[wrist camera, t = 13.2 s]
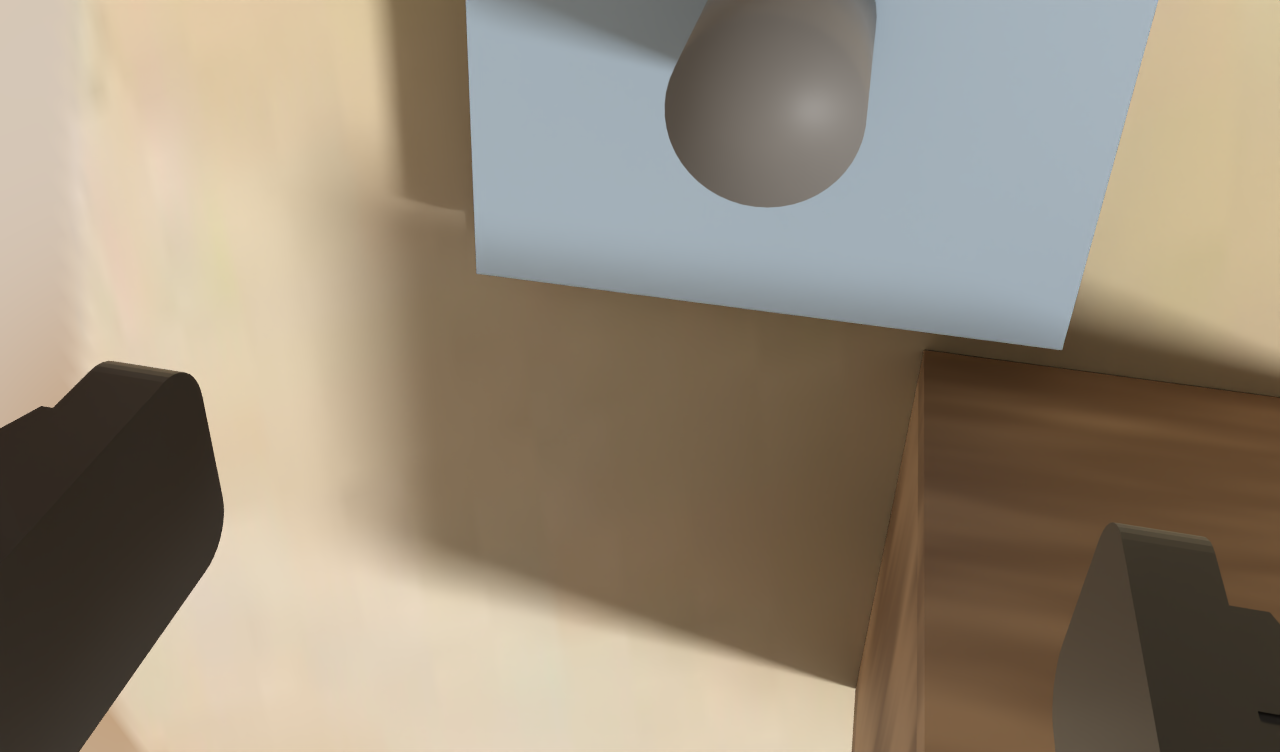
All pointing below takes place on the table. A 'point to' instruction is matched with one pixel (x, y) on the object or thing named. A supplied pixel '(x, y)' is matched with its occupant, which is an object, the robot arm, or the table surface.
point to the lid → (805, 152)
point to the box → (1043, 535)
